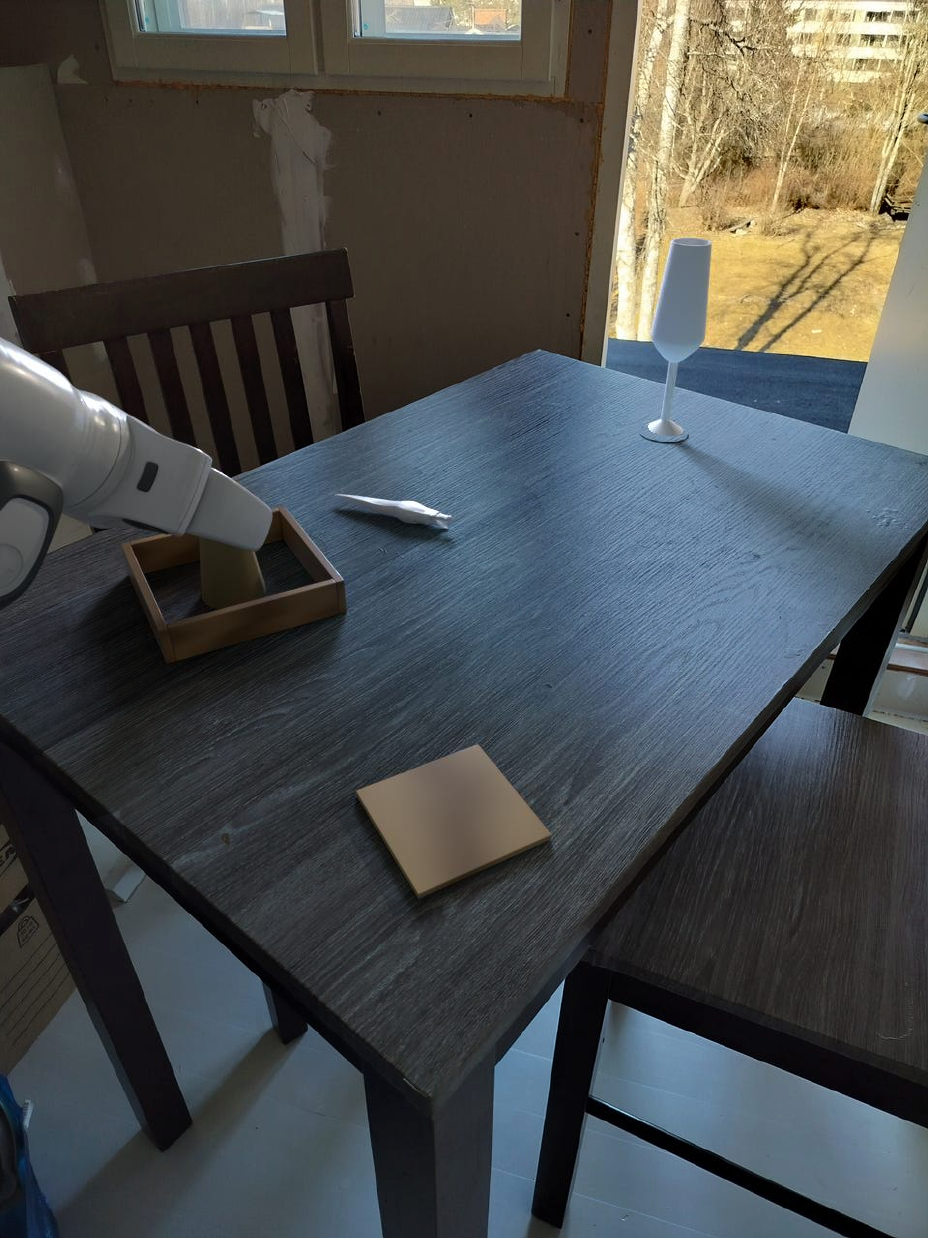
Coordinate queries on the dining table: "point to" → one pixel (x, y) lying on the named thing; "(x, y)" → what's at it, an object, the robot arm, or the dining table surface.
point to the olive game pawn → (229, 575)
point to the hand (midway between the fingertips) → (212, 524)
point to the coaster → (451, 819)
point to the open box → (241, 618)
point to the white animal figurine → (400, 510)
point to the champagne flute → (680, 315)
